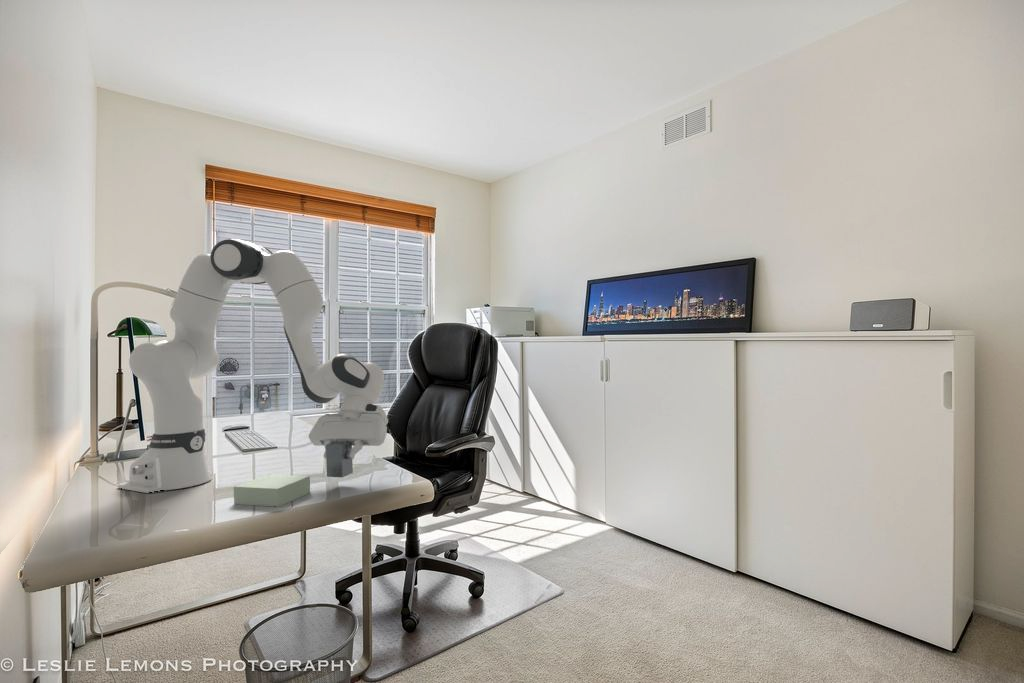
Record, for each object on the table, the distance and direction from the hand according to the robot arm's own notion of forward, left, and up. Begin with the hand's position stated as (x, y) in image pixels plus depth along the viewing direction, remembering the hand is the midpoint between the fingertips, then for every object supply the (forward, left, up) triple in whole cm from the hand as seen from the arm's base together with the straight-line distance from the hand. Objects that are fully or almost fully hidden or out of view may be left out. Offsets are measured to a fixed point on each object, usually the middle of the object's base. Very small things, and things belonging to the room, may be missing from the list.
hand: (338, 457), depth 127 cm
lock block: (0, +1, -4) cm, 4 cm away
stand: (-10, -11, -7) cm, 17 cm away
